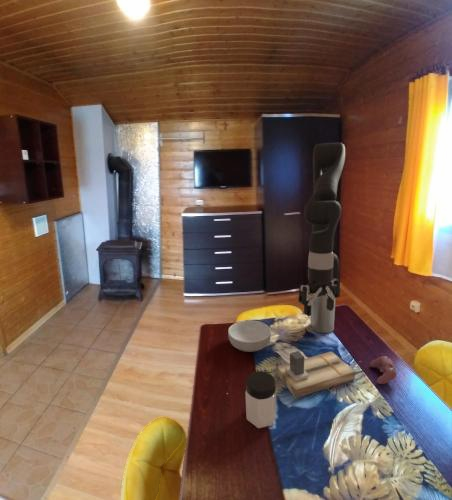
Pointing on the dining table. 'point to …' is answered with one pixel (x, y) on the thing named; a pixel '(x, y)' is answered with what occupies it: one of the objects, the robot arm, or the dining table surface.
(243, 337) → the cereal bowl
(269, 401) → the jar
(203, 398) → the dining table surface
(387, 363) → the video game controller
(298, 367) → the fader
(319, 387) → the tan flat block
